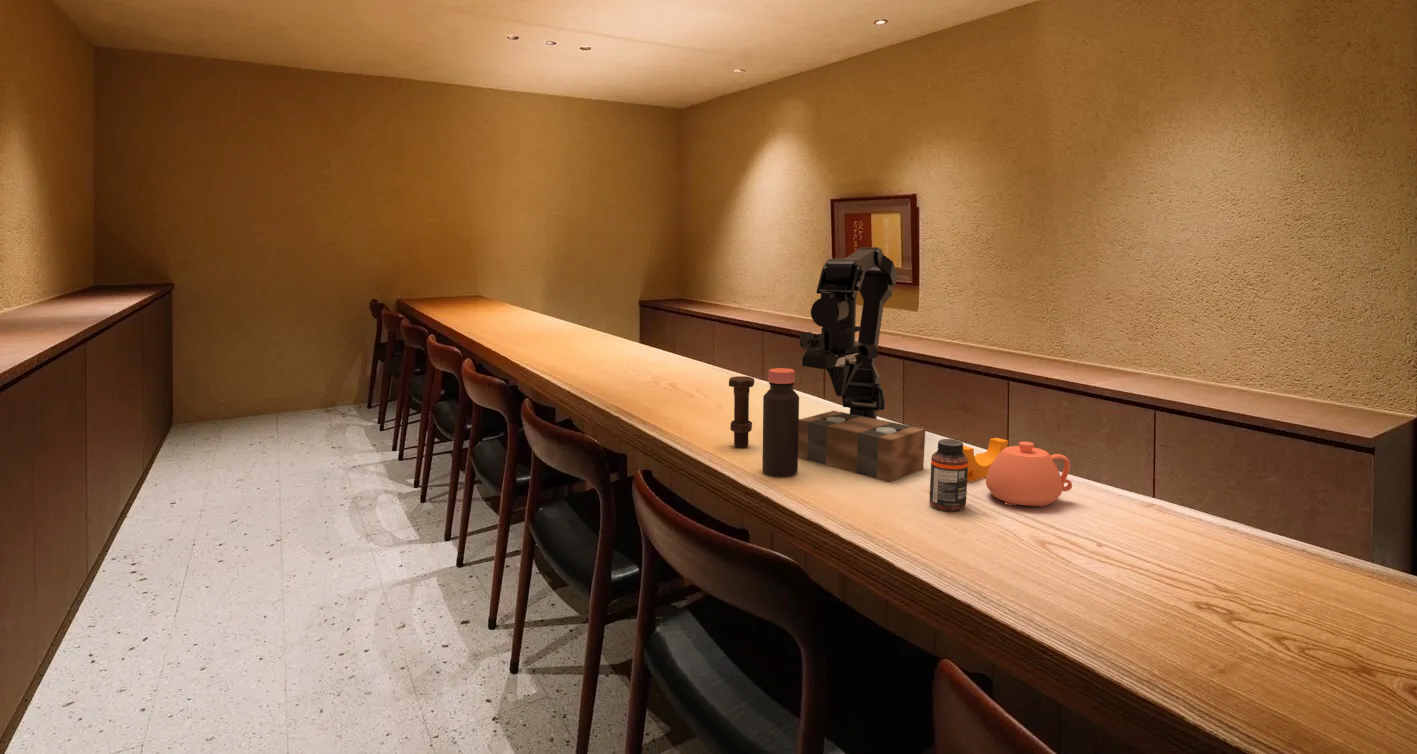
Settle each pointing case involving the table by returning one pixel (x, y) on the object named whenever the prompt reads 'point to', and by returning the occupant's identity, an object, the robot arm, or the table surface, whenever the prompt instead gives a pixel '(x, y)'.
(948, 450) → the supplement bottle
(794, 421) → the dark brown bottle
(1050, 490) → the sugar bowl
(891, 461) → the socket block
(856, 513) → the table surface
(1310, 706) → the table surface
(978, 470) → the orange tape dispenser
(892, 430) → the peg
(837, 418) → the peg
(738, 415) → the bolt
